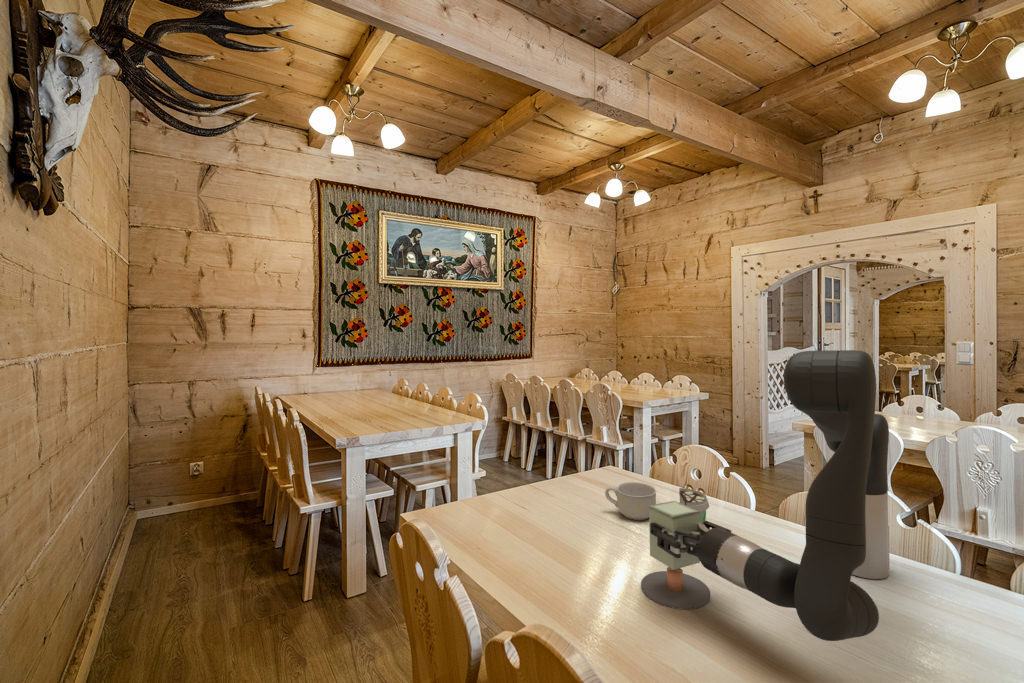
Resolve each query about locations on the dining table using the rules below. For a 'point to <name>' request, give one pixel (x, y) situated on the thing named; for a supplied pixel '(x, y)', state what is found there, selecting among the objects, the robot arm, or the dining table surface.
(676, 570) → the pillar candle
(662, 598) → the mat
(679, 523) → the upright green box
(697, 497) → the food container
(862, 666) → the dining table surface
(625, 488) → the teacup
